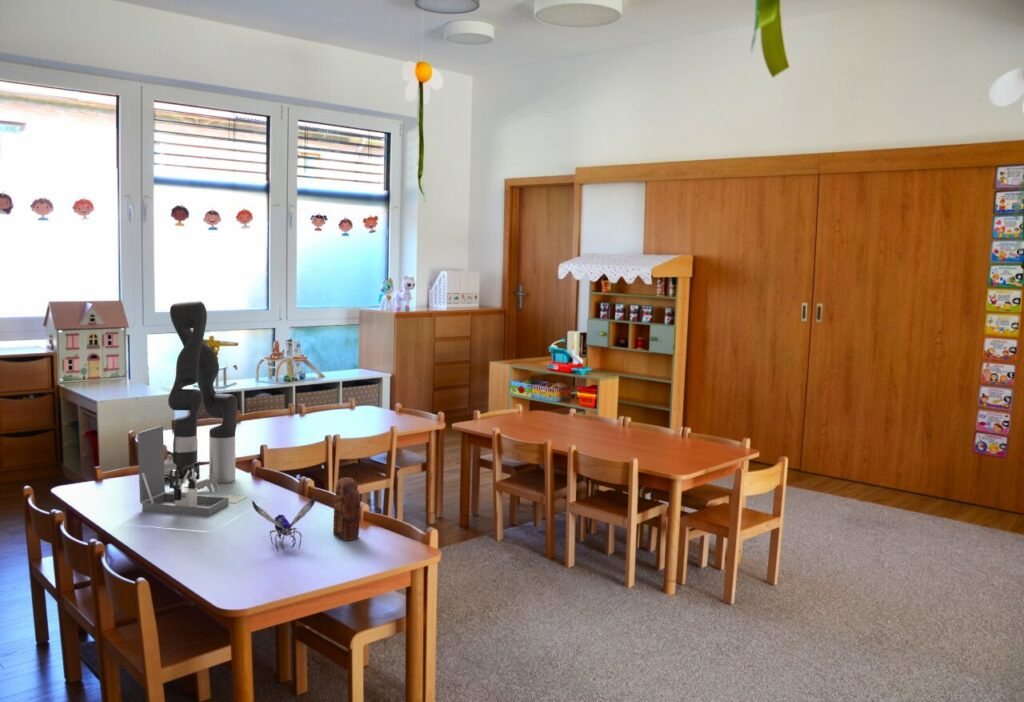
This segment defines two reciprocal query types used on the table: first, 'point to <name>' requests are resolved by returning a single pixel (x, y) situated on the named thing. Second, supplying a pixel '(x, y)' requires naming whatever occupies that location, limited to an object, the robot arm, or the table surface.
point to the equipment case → (154, 480)
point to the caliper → (204, 484)
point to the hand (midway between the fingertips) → (184, 496)
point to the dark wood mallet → (346, 509)
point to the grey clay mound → (169, 466)
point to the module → (188, 497)
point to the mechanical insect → (285, 521)
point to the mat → (234, 498)
